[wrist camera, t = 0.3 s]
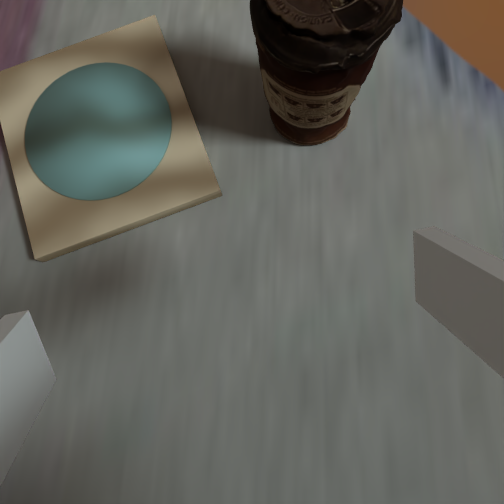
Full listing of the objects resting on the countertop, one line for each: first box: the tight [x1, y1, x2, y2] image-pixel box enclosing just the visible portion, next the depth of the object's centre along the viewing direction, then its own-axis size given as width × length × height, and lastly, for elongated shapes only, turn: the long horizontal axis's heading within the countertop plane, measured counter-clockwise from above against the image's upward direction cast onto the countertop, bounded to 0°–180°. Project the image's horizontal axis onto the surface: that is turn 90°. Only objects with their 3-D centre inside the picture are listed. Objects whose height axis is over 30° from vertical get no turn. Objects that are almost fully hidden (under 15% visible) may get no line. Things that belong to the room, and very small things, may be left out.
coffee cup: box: [250, 0, 403, 145], centre depth 27 cm, size 9×8×13 cm
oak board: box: [0, 15, 222, 262], centre depth 34 cm, size 17×15×1 cm
